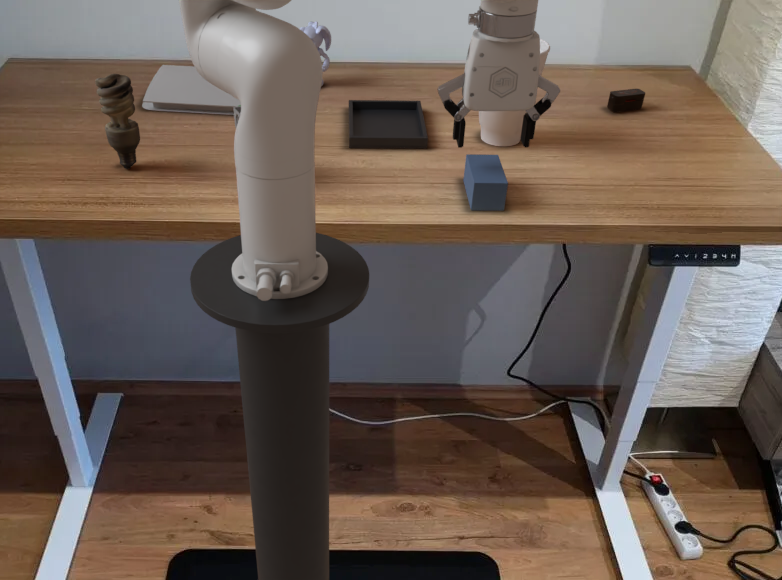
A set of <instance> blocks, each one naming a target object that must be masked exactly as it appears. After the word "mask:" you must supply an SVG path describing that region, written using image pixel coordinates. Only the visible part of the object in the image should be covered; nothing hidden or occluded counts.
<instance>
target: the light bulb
mask: <svg viewBox="0 0 782 580" xmlns="http://www.w3.org/2000/svg"><path fill="white" fill-rule="evenodd" d="M94 85H95V86H96V87H97V88H96V94H97V95H98V96H99V97H100V98H99V100H98V103H99V104H100V105H101V106H102V107H101V108H100V112H101V113H102V114H104V115H106V116H108V117H109V119H110V121H109V122H107V123H106V124H105V126H104V132H105V135H106V139H107V142H108V144H109V146H110V147H111V148H113V150H115V152H116V154H117V156H118V159H119V164H120V165H121V166H122V167H123V169H126V170H130V169H131V168H132V167H133V166H134V165H135V164H136V163H137V154H136V152H137V151H136V150H137V148H138V146H139V145H140V142H141V133H140V127H139V123H138V122H137V121H136V120H133V119H131V118H130V117H131V116H133V115H134V114H135V113H136V112H135V111H136V106H135V103H134V102H135V97H134V95H133V92H134V88H133V86H132V80H131V78H130V77H129V76H128V75H125V74H120V73H110V74H108V75H106V76H105V77H97V78H96V79H95V80H94Z"/></svg>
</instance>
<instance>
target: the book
mask: <svg viewBox="0 0 782 580" xmlns="http://www.w3.org/2000/svg"><path fill="white" fill-rule="evenodd" d="M239 105H241V103H240V101H239V100H238V99H237V98H235V97H233V96H232V95H230V94H228V93H226V92H225V91H223V90H221V89H219V88H217V87H216V86H214V85H212V84H211V83H209V82H208V81H206V80H205V79H204V78H203V77H202V76H201V75H200V74H199V73H198V71H197V70H196V68H195V67H194V65H173V64H162V65H161V66H160V67H159V68H158V70H157V71H156V73H155V74H154V76H153V78H152V79H151V81H150V82H149V85H148V87H147V89H146V91H145V93H144V97H143V99H142V105H141V108H143V109H144V110H147V111H159V112H172V113H173V112H174V113H175V112H176V113H193V114H209V115H210V114H211V115H227V116H228V115H229V116H234V109H233V107H237V106H239Z"/></svg>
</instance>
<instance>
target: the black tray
mask: <svg viewBox="0 0 782 580" xmlns="http://www.w3.org/2000/svg"><path fill="white" fill-rule="evenodd" d="M423 112H424V111H423V107H422V102H421V100H391V99H389V100H388V99H387V100H385V99H383V100H382V99H378V100H377V99H348V148H349V149H408V150H409V149H411V150H412V149H415V150H416V149H418V150H419V149H420V150H421V149H422V150H426V149H428V144H429V143H428V142H429V136H428V131H427V127H426V121H425V117H424V113H423Z"/></svg>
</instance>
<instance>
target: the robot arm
mask: <svg viewBox="0 0 782 580" xmlns="http://www.w3.org/2000/svg"><path fill="white" fill-rule="evenodd" d="M290 2H292V0H178V3H179V4H178V5H179V9H180V15H181V21H182V26H183V27H182V28H183V31H184V38H185V42H186V43H185V44H186V47H187V50H188V51H187V52H188V54H189V57H190V61H191V62H192V66H194V67H195V68H196V70H197V71H198V73H199V74H200V75H201V76H202V77H203V78H204V79H205V80H206V81H208V82H209V83H211V84H212V85H214V86H216V87H217V88H219V89H221V90H223V91H225V92H226V93H228V94H230V95H232V96H233V97H235V98H237V99H238V100H239V101H240V103H241V114H240V118H239V121H238V124H237V127H236V128H235V131H234V137H233V156H234V166H235V174H236V175H235V177H236V189H237V190H236V191H237V201H238V202H237V203H238V214H239V228H240V229H239V230H240V235H241V242H242V254H240V255H239V256H238V257H237V258H236V259H235V261H234V263H233V265H232V278H233V280H234V282H235V284H236V285H237V286H238V287H239V288H240V289H242V290H243V291H245V292H247V293H249V294H251V295H254V296H257V297H258V299H260V300H262V301H267V300H270V299H288V298H295V297H299V296H303V295H305V294H308V293H310V292H312V291H314V290H316V289H317V288H319V287H320V286H321V285H322V284H323V283H324V282H325V280H326V278H327V276H328V265H327V261H326V260H325V258H324V257H323V256H322V255H321V254H320V253H319V252H317V251H316V233H317V221H316V220H317V219H316V216H317V215H316V161H315V159H316V158H315V156H316V155H315V149H316V147H315V143H316V141H315V140H316V139H315V138H316V136H315V135H316V119H317V112H318V105H319V100H320V94H321V89H322V86H321V84H322V79H323V76H324V75H323V74H324V72H323V71H322V65H323V63H322V62H323V61H322V56H320V54H319V51H318V49H317V47H316V46H315V44H314V43H313V41H312V40H311V39H310V38H309V37H308V36H307V35H306V34H305V33H304V32H303V31H301V30H300V29H299V28H300V27H297V26H295V25H294V24H292V23H290V22H289V21H288V22H287V21H285V20H282V19H280V18H278V17H276V16H273V15H270V14H268V13H265V12H262V10H263V11H273V10H277V9H281V8H283V7H285V6H286V5H288V4H290ZM538 4H539V0H480V5H479V6H478V10H477V11H476V12H474V13H469V14H468V18H467V24H468V25H473V26H475V27H476V28H477V29H475V30H473V32H472V35H471V38H470V41H469V46H468V49H467V54H466V61H465V65H464V71H463V73H462V74H460V75H458V76H456V77H454V78H452V79H450V80H448V81H445V82H444V83H442V84H441V85H438V86H437V93H438V96H439V98H440V101H441V103H442V105H443V108H444V110H446V112H448V114H449V115H451V116H452V118H453V128H452V140H454V141H456V144H457V148H458V149H459V148H460V149H462V148H463V147H464V145H465V143H464V142H465V135H466V134H465V132H466V125H467V124H466V119H465V117H466V116H467V115H468V114H469V113H470V112H471V111H473V112H479V111H526V112H527V113H525V115H524V117H523V124H522V131H521V139H520V142H521V144H522V146H523V147H524V148H530V140H534V137H535V131H536V124H537V121H539V120H540V117H541V116H543V114H545V113H546V112H547V111H548V110H549V109H551V107H552V104H553V103H554V102H555V100H556V99H557V97H558V96H559V95H560V93H561V89H560V86H559V85H558V84H556V83H555V82H553V81H551V80H549V79H547V78H546V77H544V76H542V75H541V76H540V75H539V64H540V39H541V38H540V34H539V33H538V32H537V31H536V30H535V29H536V28H535V27H536V20H537V13H538V6H539V5H538ZM259 10H261V11H259ZM538 88H539V89H541V90H542V91H545V94H544V96H543V97H542V98H540V99H539V100H538V101H537V97H538ZM459 89H461V95H462V98H461V99H460V100H459V101H458V102H457V103H455V101H453V100H452V98H451V96H450V94H452V93H454V92H455V91H457V90H459ZM536 101H537V102H536Z"/></svg>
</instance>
